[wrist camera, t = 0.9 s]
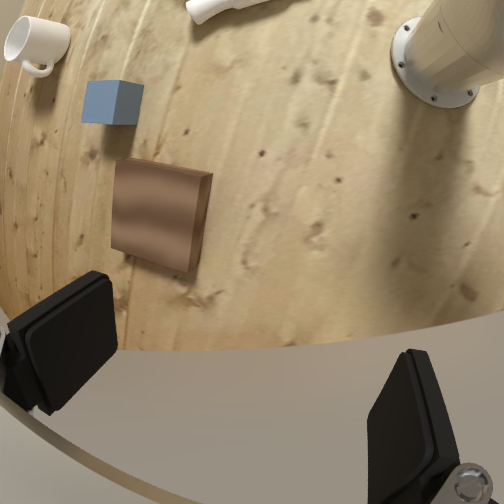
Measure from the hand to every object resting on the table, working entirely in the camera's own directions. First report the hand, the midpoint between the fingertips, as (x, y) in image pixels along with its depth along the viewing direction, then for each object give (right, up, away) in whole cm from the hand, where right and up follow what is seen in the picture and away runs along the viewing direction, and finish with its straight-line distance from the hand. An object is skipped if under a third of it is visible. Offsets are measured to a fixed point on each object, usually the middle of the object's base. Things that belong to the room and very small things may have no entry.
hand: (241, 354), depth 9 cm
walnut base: (-12, +9, +34) cm, 38 cm away
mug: (-35, +39, +30) cm, 60 cm away
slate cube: (-18, +25, +31) cm, 44 cm away
